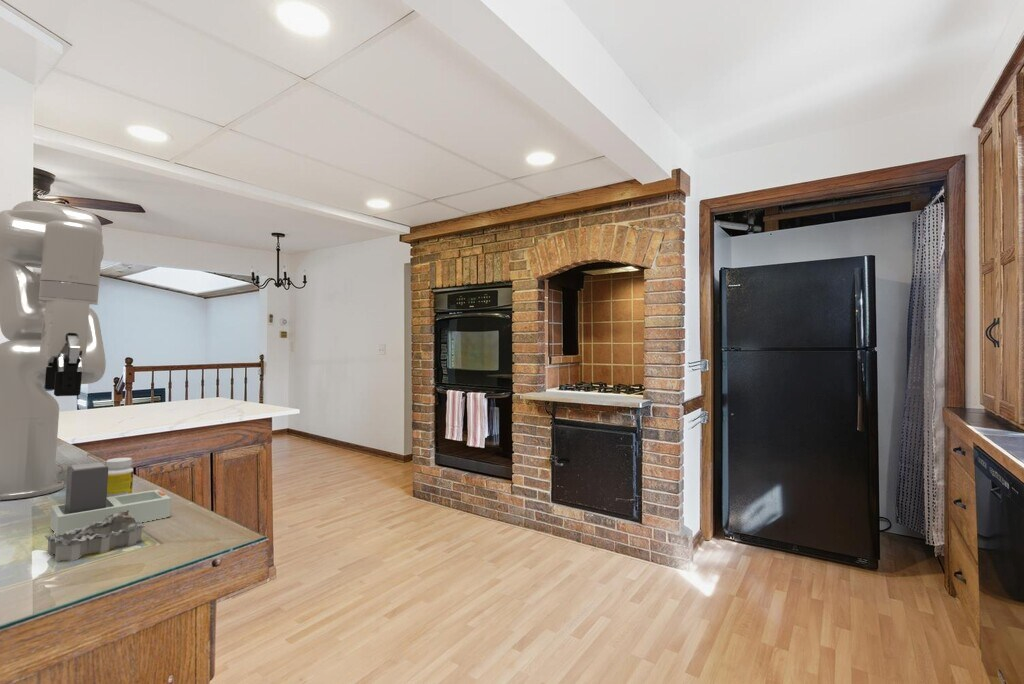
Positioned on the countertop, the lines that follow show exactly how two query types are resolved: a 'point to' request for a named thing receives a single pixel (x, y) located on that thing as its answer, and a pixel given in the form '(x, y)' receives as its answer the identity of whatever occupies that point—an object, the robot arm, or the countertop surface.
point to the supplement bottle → (119, 476)
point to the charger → (86, 487)
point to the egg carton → (96, 537)
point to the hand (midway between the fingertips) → (61, 392)
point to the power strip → (114, 510)
